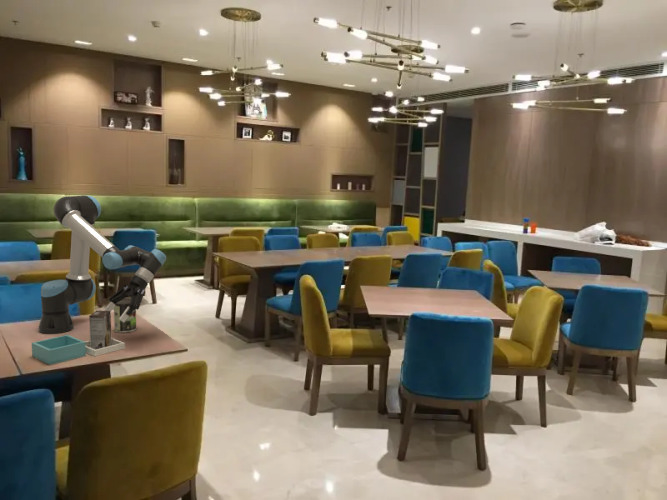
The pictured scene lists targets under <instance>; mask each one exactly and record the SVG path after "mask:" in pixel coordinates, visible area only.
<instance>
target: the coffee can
mask: <svg viewBox="0 0 667 500" xmlns="http://www.w3.org/2000/svg"><path fill="white" fill-rule="evenodd" d="M130 301H131V298H130V299H126V298H124V299H122V300H121V301H119V302H118V303H116V305H115V307H114V308H113V323H114V331H115V332H116V333H123V334H124V333H131V332H135V331H136V330H137V309H135V310H133V312H132V313H131V314H130V316H129V317H128V318H127V319H126V321H125V322H122V321H121V320H120V319H119V318H120V317H121V316H122V314H123V313H124V312H125V310H126V309H127V307H129V305H130Z"/></svg>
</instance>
